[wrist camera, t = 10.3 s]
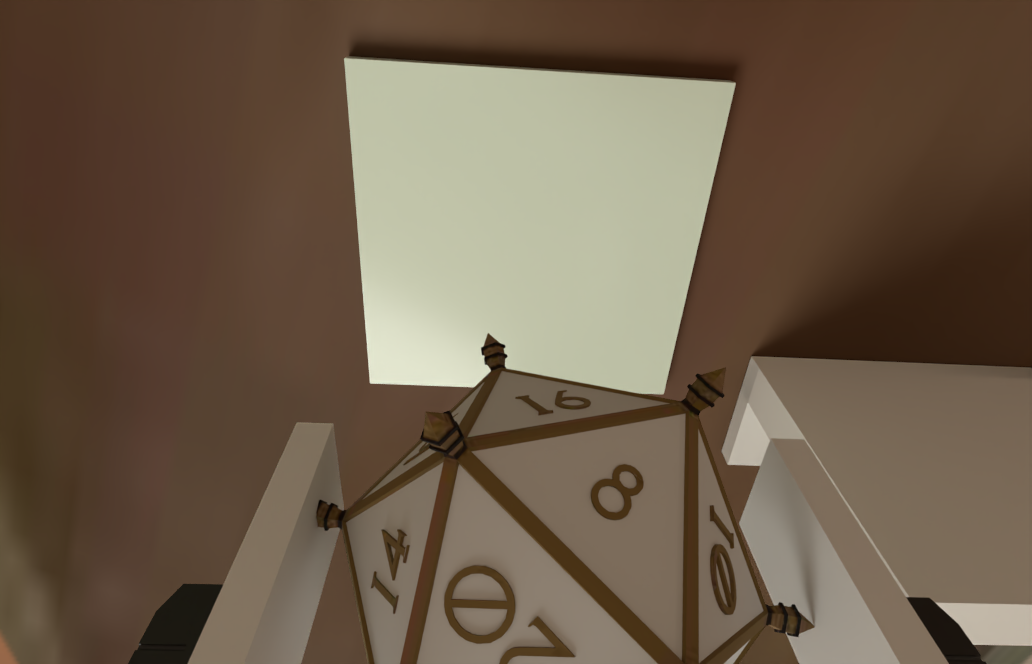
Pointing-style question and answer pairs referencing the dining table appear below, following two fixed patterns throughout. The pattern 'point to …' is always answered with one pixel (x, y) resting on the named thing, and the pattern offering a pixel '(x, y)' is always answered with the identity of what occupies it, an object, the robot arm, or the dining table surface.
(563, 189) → the tile
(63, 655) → the dining table surface
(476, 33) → the dining table surface
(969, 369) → the screen
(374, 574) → the game die
